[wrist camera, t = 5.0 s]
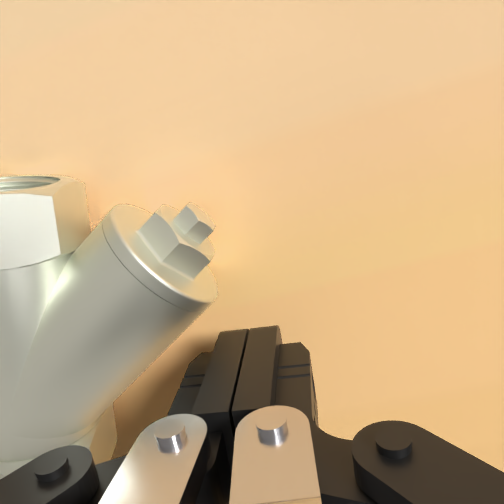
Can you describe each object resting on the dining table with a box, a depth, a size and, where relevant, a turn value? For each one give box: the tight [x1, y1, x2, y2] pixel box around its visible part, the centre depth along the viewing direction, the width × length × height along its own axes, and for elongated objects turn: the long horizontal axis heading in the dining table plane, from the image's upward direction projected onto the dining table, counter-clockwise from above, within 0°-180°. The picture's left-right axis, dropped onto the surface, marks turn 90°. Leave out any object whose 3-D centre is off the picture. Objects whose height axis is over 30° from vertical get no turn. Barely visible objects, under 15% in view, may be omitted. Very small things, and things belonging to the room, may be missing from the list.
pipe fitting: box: [0, 175, 218, 479], centre depth 12 cm, size 8×4×7 cm
